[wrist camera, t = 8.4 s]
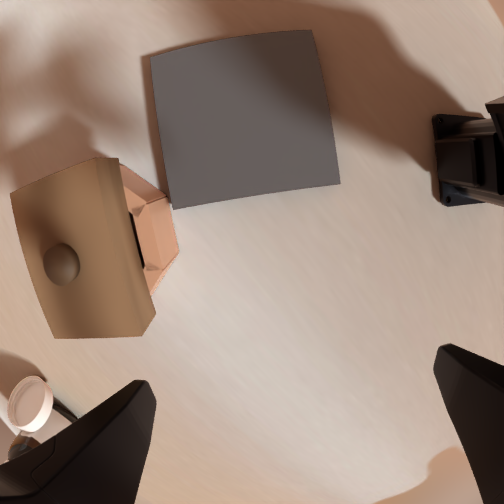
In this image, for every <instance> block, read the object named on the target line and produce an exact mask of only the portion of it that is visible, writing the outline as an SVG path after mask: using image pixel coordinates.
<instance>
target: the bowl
mask: <svg viewBox="0 0 504 504" xmlns="http://www.w3.org/2000/svg"><path fill="white" fill-rule="evenodd" d="M120 171H121V176H122V182H123V187H124V192H125V197H126V202H127V207H128V211H129V216H130V220H131V224H132V229H133V233H134V237H135V241H136V245H137V249H138V253H139V257H140V260H141V264H142V268H143V271H144V275H145V278H146V282H147V285H148V289H149V292H150V295H151V296H152V294H153V293H154V291H155V290H156V288H157V287H158V285H159V283H160V282H161V280H162V279H163V277H164V275H165V274H166V272H167V271H168V269H169V267H170V266H171V264H172V263H173V261H174V260H175V258H176V256H177V255H178V252H179V248H178V244H177V239H176V235H175V230H174V226H173V221H172V216H171V211H170V206H169V201H168V197H166V194H164V193H163V192H161V191H160V190H158V189H157V188H156V187H154V186H153V185H151V184H150V183H148V182H147V181H146V180H144V179H143V178H141V177H140V176H139V175H137V174H136V173H134V172H133V171H131V170H130V169H129V168H127V167H126V166H123V165H120Z"/></svg>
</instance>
